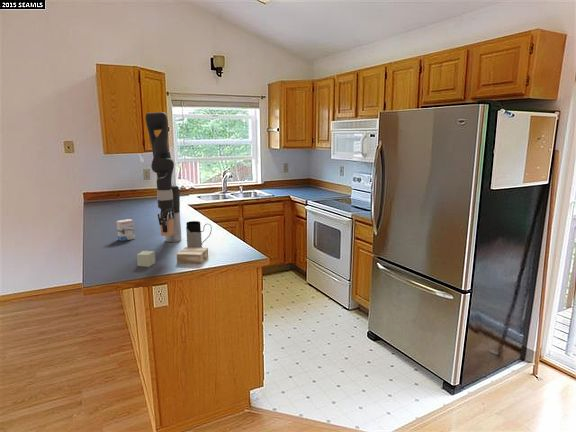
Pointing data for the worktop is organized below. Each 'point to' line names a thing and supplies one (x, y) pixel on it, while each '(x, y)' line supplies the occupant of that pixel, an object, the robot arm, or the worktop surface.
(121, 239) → the ink box
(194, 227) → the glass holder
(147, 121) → the robot arm
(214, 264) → the worktop surface
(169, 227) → the terracotta block
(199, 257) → the birch block
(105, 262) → the worktop surface
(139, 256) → the sage cube
